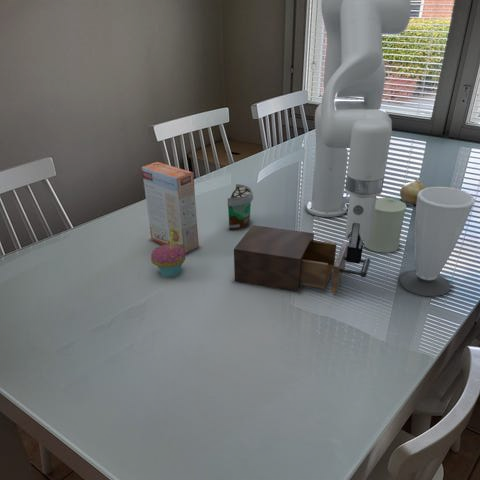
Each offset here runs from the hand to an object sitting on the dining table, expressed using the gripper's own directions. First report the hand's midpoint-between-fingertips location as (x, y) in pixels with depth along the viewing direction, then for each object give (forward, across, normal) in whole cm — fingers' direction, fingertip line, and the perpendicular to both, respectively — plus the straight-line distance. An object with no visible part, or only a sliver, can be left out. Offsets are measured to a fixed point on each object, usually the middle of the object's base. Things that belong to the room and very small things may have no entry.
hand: (353, 261), depth 110 cm
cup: (+6, +6, -17) cm, 19 cm away
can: (+7, +23, -5) cm, 24 cm away
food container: (+7, +24, +36) cm, 44 cm away
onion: (+7, +57, -10) cm, 58 cm away
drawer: (+5, 0, +7) cm, 9 cm away
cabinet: (+6, 0, +19) cm, 20 cm away
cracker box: (+7, +6, +49) cm, 50 cm away
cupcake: (+7, -8, +44) cm, 45 cm away
